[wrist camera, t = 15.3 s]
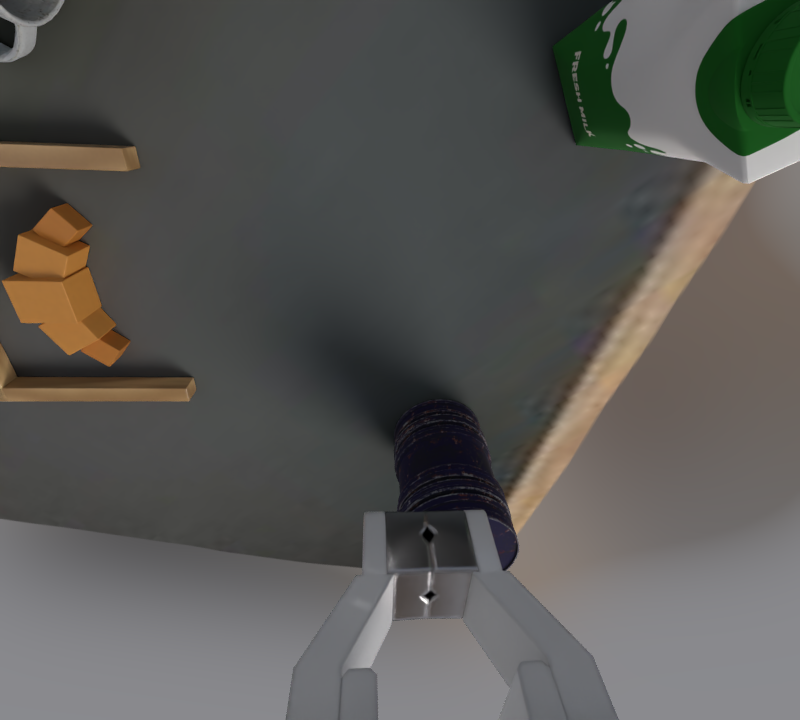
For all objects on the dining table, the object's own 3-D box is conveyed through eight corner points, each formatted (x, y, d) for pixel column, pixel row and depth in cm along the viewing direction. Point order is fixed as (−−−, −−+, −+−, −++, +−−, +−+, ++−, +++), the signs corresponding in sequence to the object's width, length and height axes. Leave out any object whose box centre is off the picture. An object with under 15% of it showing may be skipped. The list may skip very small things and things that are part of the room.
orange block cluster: (7, 201, 33) (-32, 210, 30) (85, 203, 33) (56, 213, 30) (71, 355, 40) (45, 376, 37) (135, 356, 40) (115, 376, 37)
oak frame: (-126, 136, 30) (-156, 137, 28) (135, 146, 31) (121, 148, 29) (8, 389, 41) (-8, 401, 39) (196, 389, 42) (189, 401, 41)
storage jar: (382, 457, 48) (385, 582, 36) (407, 389, 44) (421, 505, 31) (462, 472, 50) (492, 596, 37) (494, 409, 46) (541, 525, 33)
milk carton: (535, 39, 29) (768, -66, 12) (666, -37, 28) (1155, -284, 10) (567, 162, 33) (773, 216, 16) (683, 103, 32) (1049, 93, 15)
